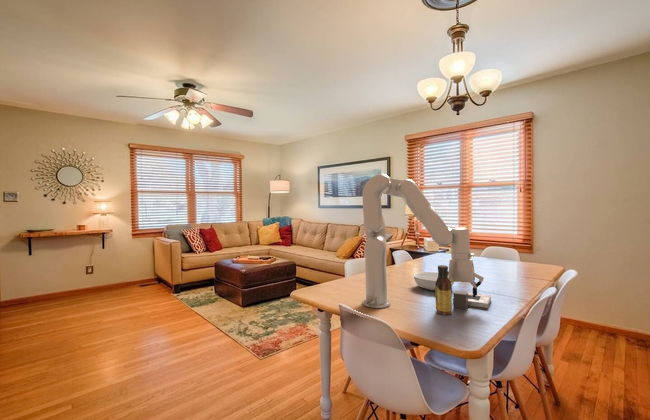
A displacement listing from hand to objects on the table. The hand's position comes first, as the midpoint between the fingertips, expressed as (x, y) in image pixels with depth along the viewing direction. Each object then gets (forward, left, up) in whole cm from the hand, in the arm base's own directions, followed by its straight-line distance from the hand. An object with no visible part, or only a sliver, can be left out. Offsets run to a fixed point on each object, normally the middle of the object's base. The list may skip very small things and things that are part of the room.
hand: (462, 295), depth 134 cm
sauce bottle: (-10, +6, -6) cm, 13 cm away
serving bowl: (+27, +19, -6) cm, 33 cm away
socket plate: (+11, -2, -6) cm, 12 cm away
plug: (0, +1, -6) cm, 6 cm away
